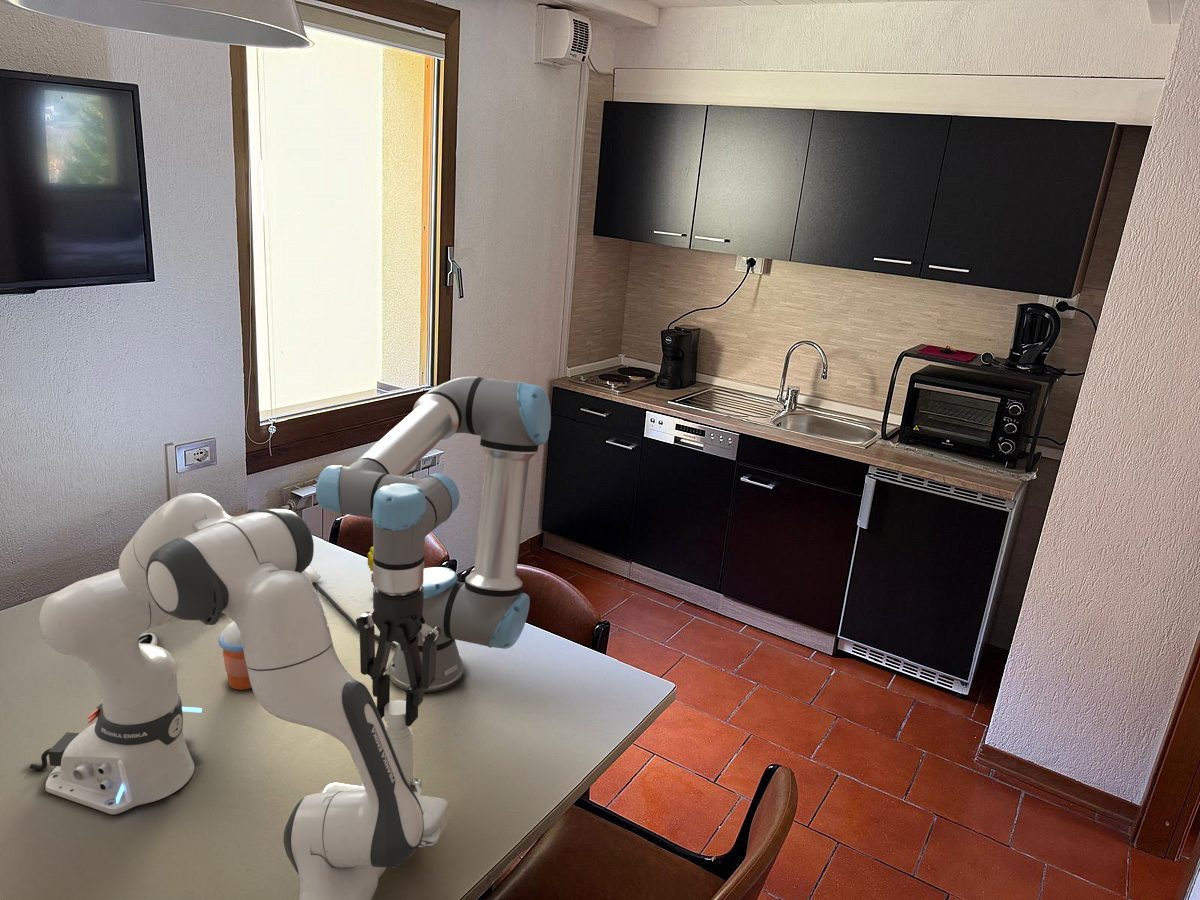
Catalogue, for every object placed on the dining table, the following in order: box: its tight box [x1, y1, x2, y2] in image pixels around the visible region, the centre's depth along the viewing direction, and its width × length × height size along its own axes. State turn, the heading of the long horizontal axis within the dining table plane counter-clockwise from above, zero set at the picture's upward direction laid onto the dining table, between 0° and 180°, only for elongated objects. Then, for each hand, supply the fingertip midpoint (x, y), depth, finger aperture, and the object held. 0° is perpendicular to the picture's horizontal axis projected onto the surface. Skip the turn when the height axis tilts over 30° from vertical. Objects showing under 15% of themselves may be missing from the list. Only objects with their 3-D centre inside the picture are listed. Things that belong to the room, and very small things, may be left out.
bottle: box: [385, 722, 414, 786], centre depth 139 cm, size 5×5×20 cm
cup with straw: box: [218, 620, 252, 691], centre depth 172 cm, size 9×9×18 cm
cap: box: [383, 699, 406, 725], centre depth 136 cm, size 4×4×2 cm
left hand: (398, 779), depth 141 cm, fingers closed on bottle, 5 cm apart
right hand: (397, 717), depth 136 cm, fingers open, 4 cm apart
